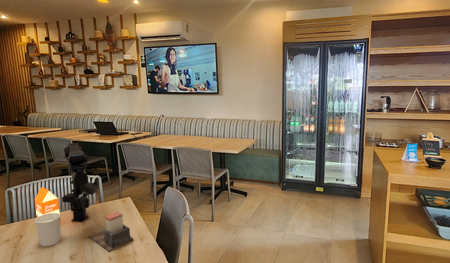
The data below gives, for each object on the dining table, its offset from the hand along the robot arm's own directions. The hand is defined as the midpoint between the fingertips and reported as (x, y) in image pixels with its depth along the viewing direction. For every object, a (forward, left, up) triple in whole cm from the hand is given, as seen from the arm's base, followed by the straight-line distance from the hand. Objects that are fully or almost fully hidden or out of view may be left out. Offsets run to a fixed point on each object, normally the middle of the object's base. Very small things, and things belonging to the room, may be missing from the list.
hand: (81, 208), depth 137 cm
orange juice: (-4, -22, -12) cm, 25 cm away
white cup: (+10, -10, -12) cm, 19 cm away
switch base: (+5, +17, -12) cm, 21 cm away
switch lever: (+7, +20, -11) cm, 24 cm away
